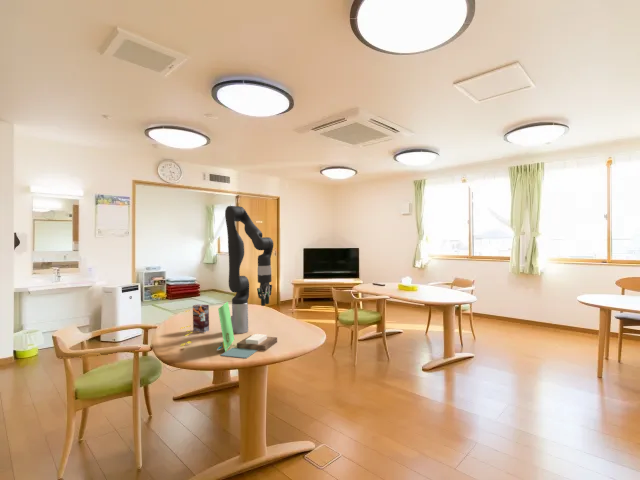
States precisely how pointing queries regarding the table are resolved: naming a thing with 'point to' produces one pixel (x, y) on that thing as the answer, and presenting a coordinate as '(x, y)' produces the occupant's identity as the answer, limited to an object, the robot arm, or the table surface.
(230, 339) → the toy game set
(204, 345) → the table surface
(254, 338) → the tile
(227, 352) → the mat
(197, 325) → the supplement box
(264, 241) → the robot arm
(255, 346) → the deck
